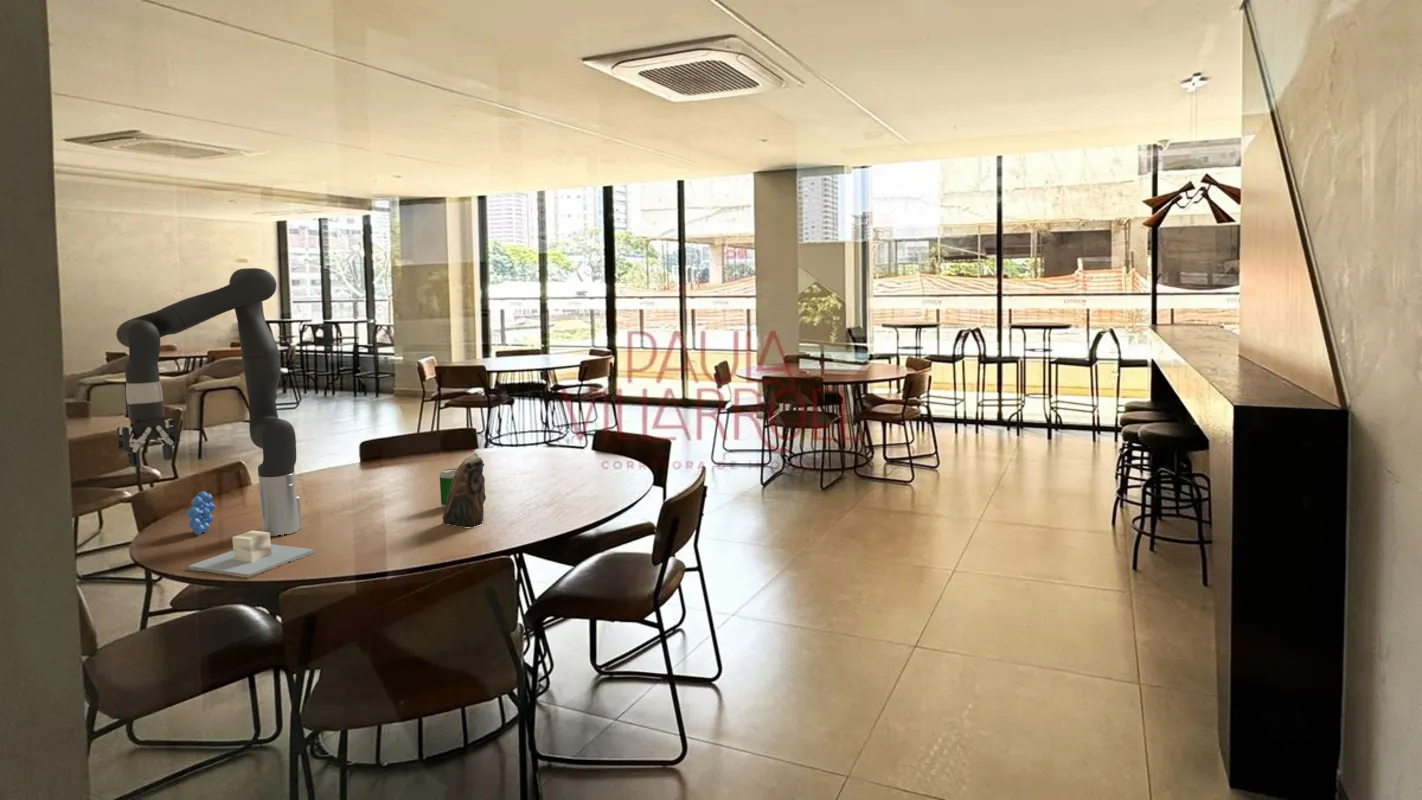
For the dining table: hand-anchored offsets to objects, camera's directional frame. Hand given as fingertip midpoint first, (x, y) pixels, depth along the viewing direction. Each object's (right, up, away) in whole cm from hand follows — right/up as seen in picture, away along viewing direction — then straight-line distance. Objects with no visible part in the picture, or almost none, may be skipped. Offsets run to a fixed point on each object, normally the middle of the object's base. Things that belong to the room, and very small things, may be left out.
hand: (151, 463), depth 209 cm
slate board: (+24, -26, +4) cm, 35 cm away
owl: (+69, -21, +37) cm, 81 cm away
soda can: (+60, -18, +54) cm, 83 cm away
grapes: (-6, -23, +29) cm, 37 cm away
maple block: (+24, -25, +4) cm, 34 cm away
